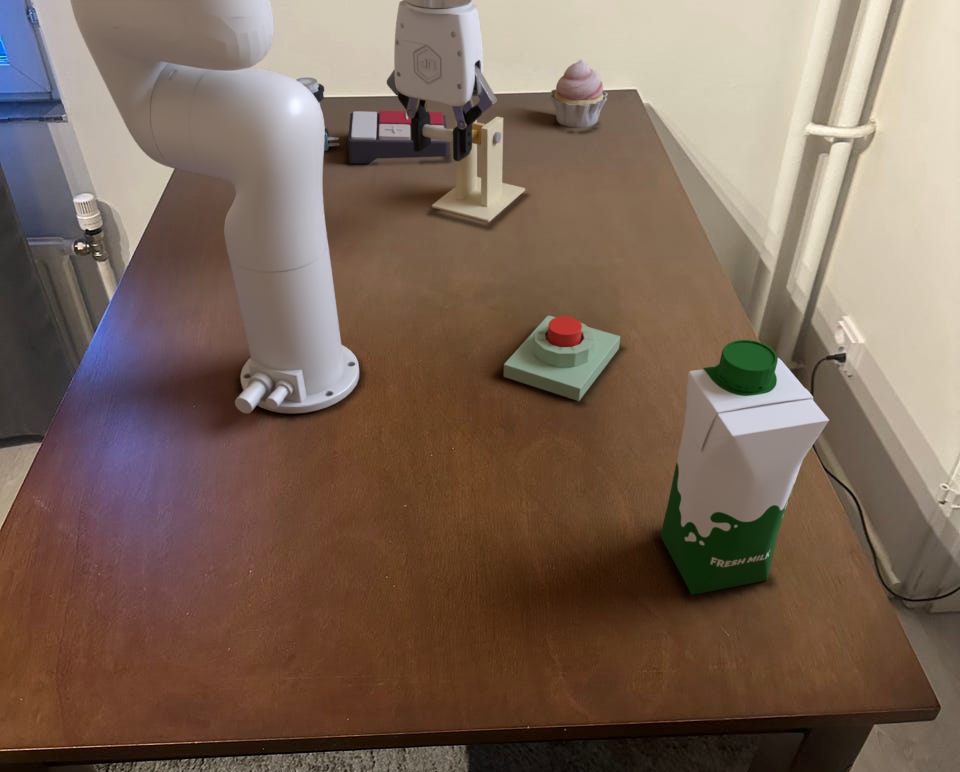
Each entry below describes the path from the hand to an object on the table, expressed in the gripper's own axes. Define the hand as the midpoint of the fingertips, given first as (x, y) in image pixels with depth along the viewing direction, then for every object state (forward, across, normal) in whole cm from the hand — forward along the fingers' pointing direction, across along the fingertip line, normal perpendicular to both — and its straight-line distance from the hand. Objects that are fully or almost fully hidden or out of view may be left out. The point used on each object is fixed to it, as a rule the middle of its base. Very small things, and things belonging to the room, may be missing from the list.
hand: (442, 151), depth 112 cm
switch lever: (+1, 0, +5) cm, 5 cm away
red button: (+9, +26, -19) cm, 34 cm away
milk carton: (+12, +50, -39) cm, 65 cm away
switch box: (+12, +26, -19) cm, 35 cm away
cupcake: (+11, 0, +42) cm, 44 cm away
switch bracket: (+11, 0, +10) cm, 15 cm away
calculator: (+11, -20, +21) cm, 31 cm away
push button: (+11, -31, +14) cm, 36 cm away
